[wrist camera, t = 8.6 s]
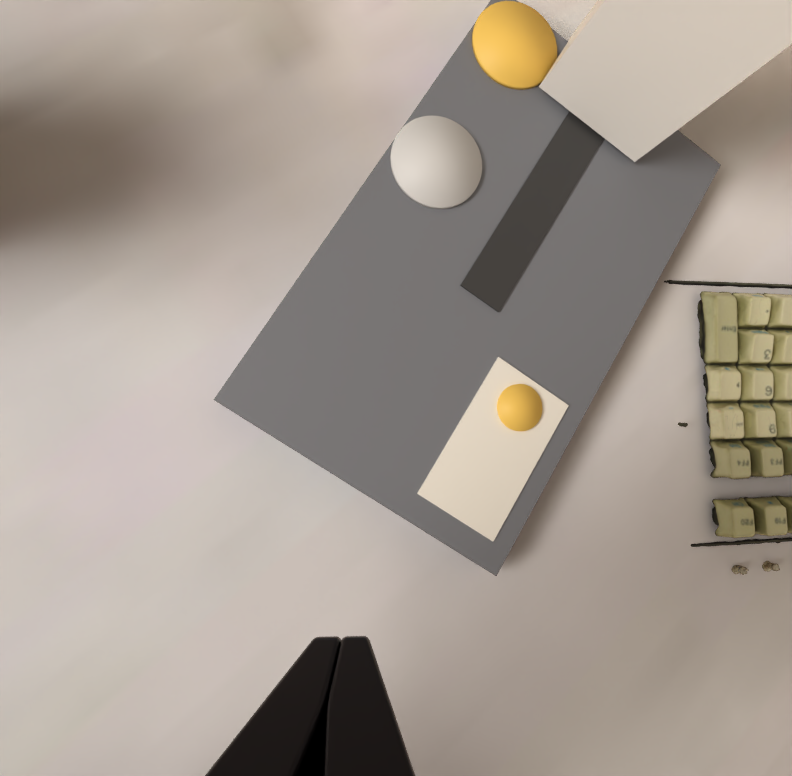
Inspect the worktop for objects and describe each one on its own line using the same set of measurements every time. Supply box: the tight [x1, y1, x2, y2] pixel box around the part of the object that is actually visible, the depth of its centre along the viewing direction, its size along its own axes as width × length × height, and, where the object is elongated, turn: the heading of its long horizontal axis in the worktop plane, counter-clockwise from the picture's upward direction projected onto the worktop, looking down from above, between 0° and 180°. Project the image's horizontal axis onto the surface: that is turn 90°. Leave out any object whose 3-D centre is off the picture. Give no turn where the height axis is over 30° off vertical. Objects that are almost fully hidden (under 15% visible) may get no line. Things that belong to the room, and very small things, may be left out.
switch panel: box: [214, 0, 720, 576], centre depth 22 cm, size 20×12×2 cm, turn 148°
